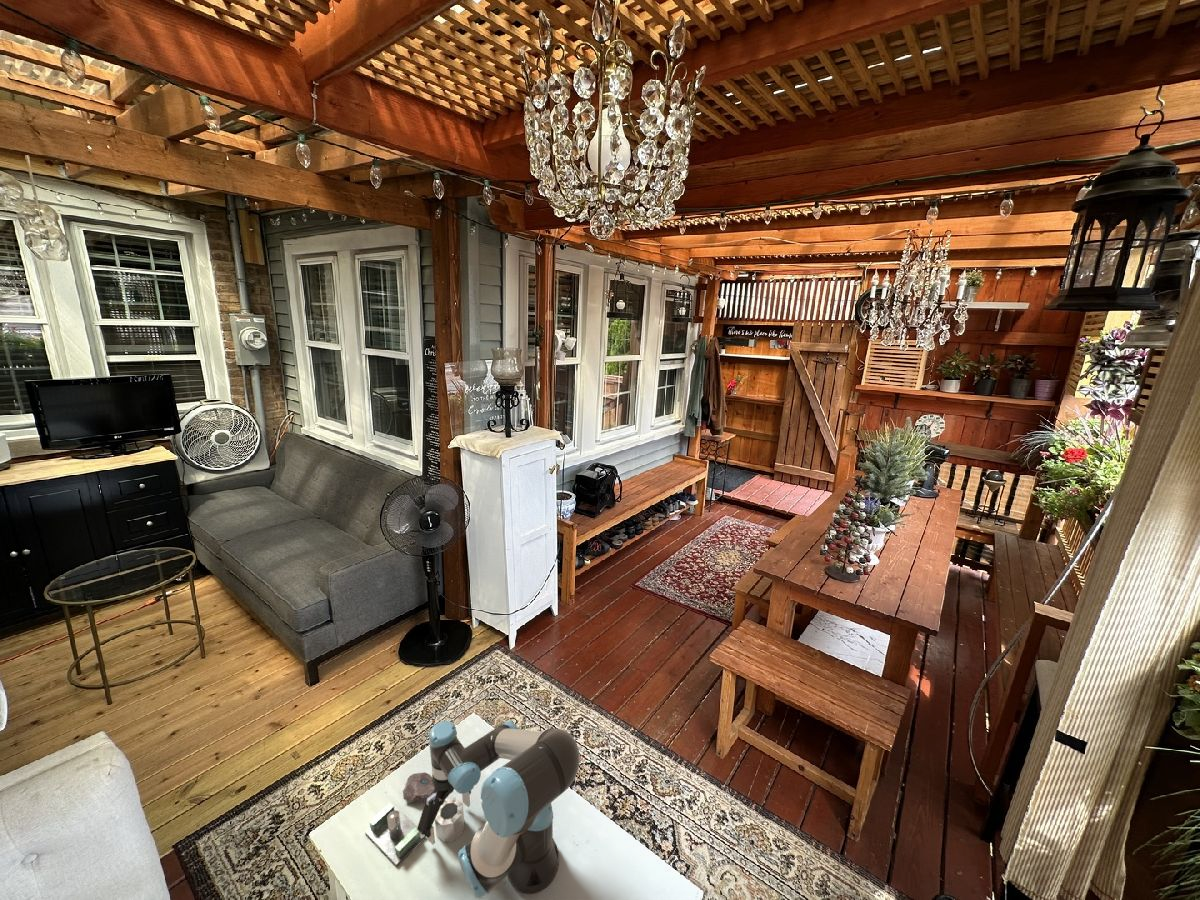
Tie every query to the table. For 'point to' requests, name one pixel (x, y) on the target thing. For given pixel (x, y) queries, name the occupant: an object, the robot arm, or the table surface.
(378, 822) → the stand
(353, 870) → the table surface
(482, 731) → the table surface
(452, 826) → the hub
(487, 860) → the robot arm
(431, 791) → the rock
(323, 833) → the table surface
